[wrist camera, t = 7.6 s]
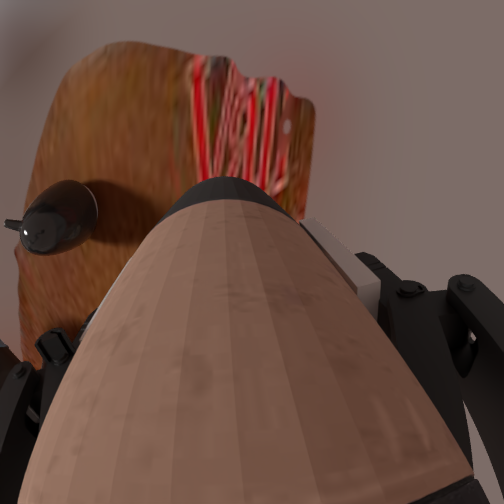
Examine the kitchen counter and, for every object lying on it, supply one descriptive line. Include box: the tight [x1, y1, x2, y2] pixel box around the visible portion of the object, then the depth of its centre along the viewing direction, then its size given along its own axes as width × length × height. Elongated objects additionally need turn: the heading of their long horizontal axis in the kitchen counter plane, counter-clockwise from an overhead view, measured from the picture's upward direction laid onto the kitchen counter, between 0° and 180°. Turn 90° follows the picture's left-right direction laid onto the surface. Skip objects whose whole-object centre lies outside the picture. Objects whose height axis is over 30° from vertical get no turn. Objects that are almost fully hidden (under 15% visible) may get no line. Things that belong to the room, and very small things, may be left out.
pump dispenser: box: [4, 180, 98, 256], centre depth 32 cm, size 10×10×15 cm
